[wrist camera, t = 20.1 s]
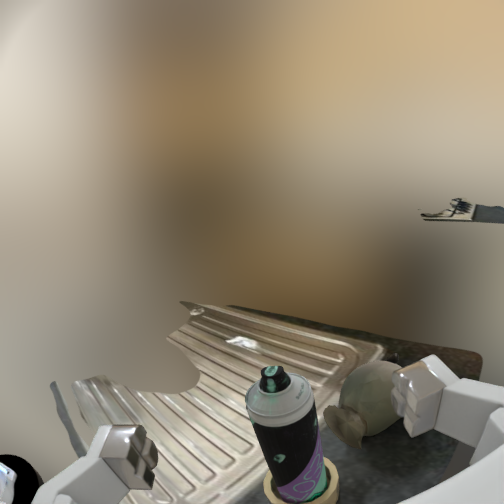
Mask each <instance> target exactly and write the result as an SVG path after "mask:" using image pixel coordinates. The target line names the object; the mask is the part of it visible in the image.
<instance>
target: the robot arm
mask: <svg viewBox="0 0 504 504" xmlns="http://www.w3.org/2000/svg"><path fill="white" fill-rule="evenodd" d="M392 382H393V384H394V385H395V386H394V387H393V389H392V390H391V401H392V406H393V408H394V410H395V412H396V414H397V416H399V417H402V418H404V423H403V425H404V427H405V428H406V430H407V431H408V433H409V435H410V436H411V438H413V437H415V436H417V435H420V434H422V433H424V432H426V431H429V430H431V429H433V428H434V429H435V430H437V431H440V432H442V433H444V434H446V435H448V436H450V437H452V438H455V439H457V440H459V441H461V442H464V443H466V444H468V445H470V446H473V447H475V448H476V449H475V451H474V454H473V456H472V458H471V460H470V463H469V464H470V465H471V466H470V467H468V468H467V469H465V470H463V471H462V472H460V473H458V474H456V475H455V476H453V477H451V478H449V479H448V480H446V481H444V482H442V483H440V484H438V485H436V486H434V487H432V488H430V489H428V490H426V491H424V492H422V493H420V494H418V495H416V496H414V497H411V498H409V499H407V500H405V501H402V502H400V503H398V504H504V387H501V386H496V385H492V384H487V383H483V382H478V381H474V380H470V379H466V378H463V379H461V380H460V379H459V378H458V377H457V376H456V375H455V374H454V373H453V372H452V371H451V370H450V369H449V368H448V367H447V366H446V365H445V364H444V363H443V362H442V361H441V360H440V359H439V358H438V357H437V356H436V355H430V356H428V357H426V358H424V359H422V360H420V361H417V362H415V363H412V364H410V365H408V366H405V367H403V368H400V369H398V370H395V371H393V373H392ZM146 433H147V432H146V430H145V429H144V427H143V426H142V425H101V426H100V427H99V428H98V430H97V433H96V435H95V437H94V439H93V441H92V444H91V446H90V448H89V450H88V453H87V455H86V457H81V458H80V459H78V460H77V461H76V462H74V463H73V464H71V465H70V466H69V467H67V468H66V469H65V470H63V471H62V472H61V473H59V474H58V475H56V476H55V477H53V478H52V479H51V480H49V481H48V482H46V483H45V484H44V485H42V486H41V487H39V489H38V491H37V493H36V495H35V497H34V500H33V502H32V504H118V503H119V502H120V501H121V500H122V499H123V498H124V497H125V496H126V494H127V493H128V492H129V491H130V490H129V489H137V490H152V486H153V482H154V477H155V474H154V473H153V471H152V469H154V468H155V467H156V466H157V463H158V451H157V448H156V446H155V444H154V442H153V441H152V440H150V439H149V438H147V437H146ZM16 479H17V474H16V473H15V472H14V471H13V470H11V469H10V468H8V467H7V466H5V465H4V464H2V463H1V462H0V504H12V503H13V500H14V485H15V482H16Z"/></svg>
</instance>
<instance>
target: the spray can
mask: <svg viewBox="0 0 504 504" xmlns="http://www.w3.org/2000/svg"><path fill="white" fill-rule="evenodd" d="M261 375H262V378H261V379H260V380H258V381H257V382H255V383H254V384H253V385H252V386H251V387H250V388H249V389H248V391H247V393H246V396H245V402H246V409H247V412H248V414H249V417H250V420H251V423H252V425H253V428H254V431H255V433H256V436H257V438H258V441H259V444H260V446H261V449H262V451H263V454H264V457H265V459H266V462H267V464H268V467H269V469H270V472H271V474H272V477H273V479H274V481H275V484H276V486H277V489H278V491H279V494H280V496H281V498H282V500H283V501H284V502H285V503H289V504H303V503H308V502H312V501H314V500H315V499H317V498H319V497H320V496H322V495H323V494H324V493H325V491H326V490H327V489H328V486H327V479H326V472H325V465H324V458H323V451H322V445H321V438H320V432H319V425H318V419H317V413H316V407H315V401H314V395H313V391H312V389H311V386H310V383H309V382H308V380H307V379H305V378H304V377H302V376H301V375H298V374H294V373H286V372H284V370H283V367H281V366H269V367H265V368H263V369H262V370H261Z"/></svg>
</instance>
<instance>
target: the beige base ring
mask: <svg viewBox="0 0 504 504" xmlns="http://www.w3.org/2000/svg"><path fill="white" fill-rule="evenodd" d="M323 458H324V465H325V472H326V479H327V486H328V489H327V490H326V491H325V493H324V494H323V495H322V496H320V497H319V498H317V499H315V500H314V501H312V502H308V503H303V504H336V502H337V500H338V497H339V476H338V473H337V469H336V467H335V465H334V464H333V463H332V462H331V461H330V460H329V459H327V458H325V457H323ZM263 483H264V493H265V495H266V497H267V499H268V501H269V503H270V504H289V503H285V502H284V501H283V500H282V498H281V496H280V494H279V491H278V489H277V486H276V484H275V481H274V479H273V477H272V474H271V472H270V470H269V471H268V472H267V475H266V477H265V479H264V482H263Z"/></svg>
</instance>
